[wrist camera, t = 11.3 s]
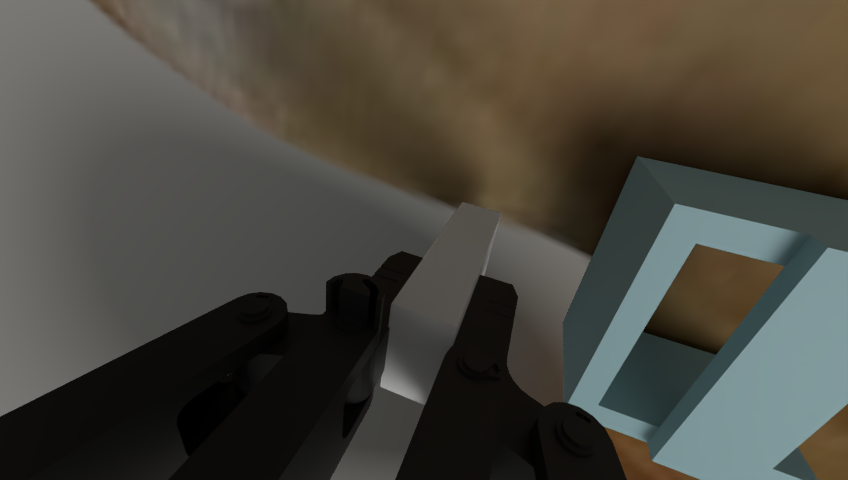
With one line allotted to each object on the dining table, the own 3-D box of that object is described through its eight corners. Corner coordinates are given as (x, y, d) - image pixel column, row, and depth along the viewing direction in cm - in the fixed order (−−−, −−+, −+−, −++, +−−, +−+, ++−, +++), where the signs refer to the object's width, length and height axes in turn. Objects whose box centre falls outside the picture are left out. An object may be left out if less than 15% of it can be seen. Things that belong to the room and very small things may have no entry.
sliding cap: (562, 322, 16) (563, 426, 11) (637, 156, 12) (682, 213, 8) (735, 378, 14) (815, 523, 10) (882, 207, 10) (1121, 317, 6)
